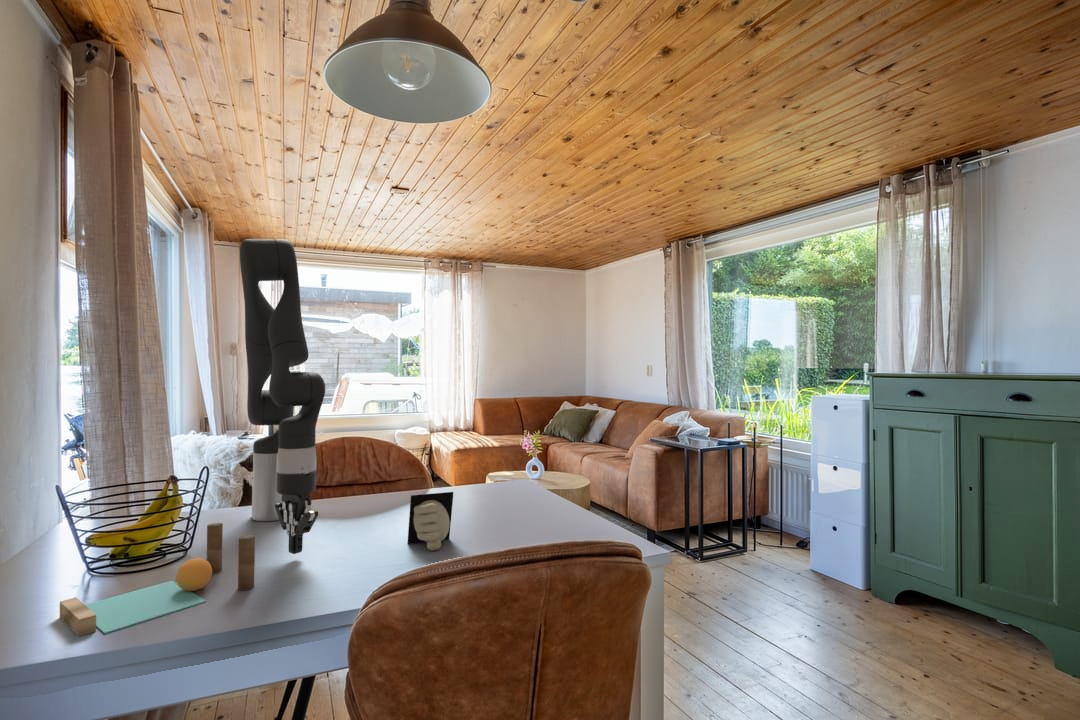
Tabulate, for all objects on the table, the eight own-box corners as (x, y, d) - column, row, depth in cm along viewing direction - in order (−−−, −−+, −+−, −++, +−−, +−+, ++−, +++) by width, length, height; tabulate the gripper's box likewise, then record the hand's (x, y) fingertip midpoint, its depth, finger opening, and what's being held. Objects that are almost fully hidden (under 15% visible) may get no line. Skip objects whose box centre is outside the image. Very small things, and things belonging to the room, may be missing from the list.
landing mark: (75, 608, 90) (75, 607, 90) (172, 581, 102) (172, 580, 102) (104, 634, 82) (104, 632, 82) (205, 601, 94) (205, 600, 94)
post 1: (204, 571, 107) (204, 525, 107) (218, 567, 109) (218, 522, 109) (210, 574, 105) (210, 527, 105) (224, 570, 107) (225, 524, 107)
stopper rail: (59, 617, 87) (59, 601, 87) (75, 612, 89) (75, 597, 89) (79, 636, 81) (79, 619, 81) (96, 631, 83) (96, 614, 83)
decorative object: (456, 557, 122) (413, 563, 118) (446, 532, 131) (405, 537, 127) (461, 508, 119) (416, 512, 115) (450, 486, 128) (408, 489, 124)
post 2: (235, 588, 99) (235, 538, 99) (249, 583, 101) (250, 534, 101) (242, 591, 98) (242, 541, 98) (256, 587, 100) (257, 537, 100)
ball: (195, 586, 101) (164, 584, 97) (208, 556, 103) (178, 553, 99) (210, 595, 98) (179, 594, 94) (223, 564, 100) (192, 561, 95)
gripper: (262, 467, 115) (261, 550, 115) (296, 475, 107) (295, 565, 107) (296, 462, 121) (295, 541, 121) (331, 469, 113) (330, 554, 113)
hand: (295, 552), depth 114 cm, fingers closed
